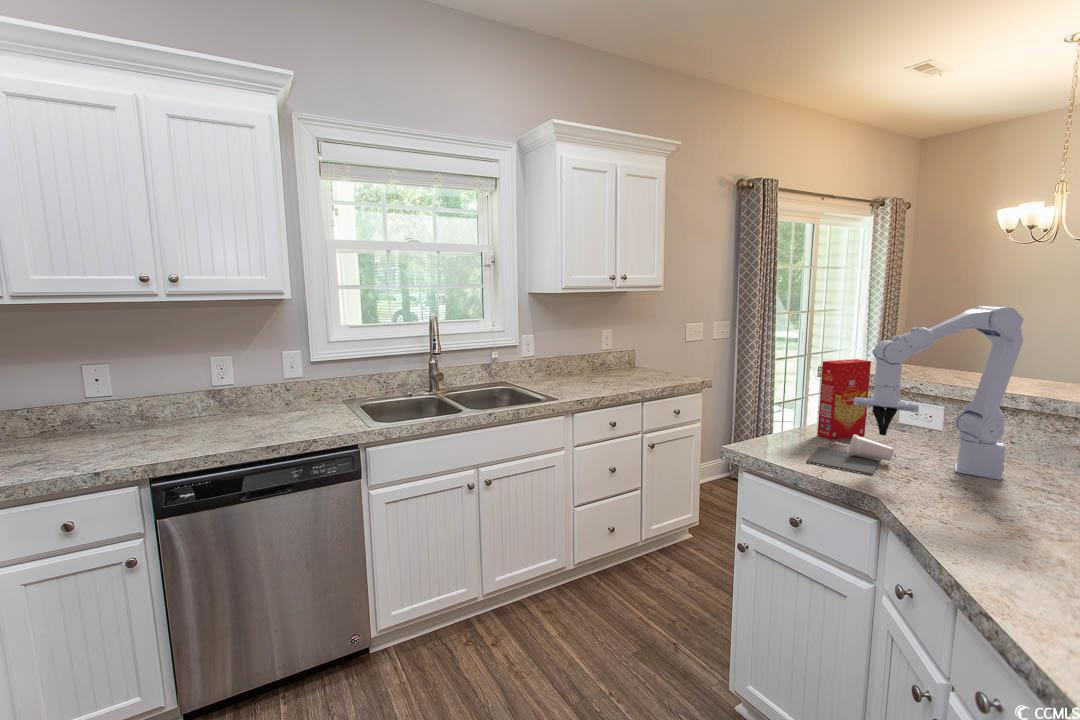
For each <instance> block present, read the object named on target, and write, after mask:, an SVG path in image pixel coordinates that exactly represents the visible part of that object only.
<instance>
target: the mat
mask: <svg viewBox="0 0 1080 720" xmlns="http://www.w3.org/2000/svg"><path fill="white" fill-rule="evenodd" d="M881 460H882V459H875V458H868V457H861V456H850V455H849V451H844V450H838V449H832V448H829V447H822V446H821V447H820V446H818V448H816V450H814V452H813V453H812V454H811V455H810V456H809V457H808V458H807V459H806V461H805V463H806V462H810V463H814V464H813V465H816V464H819V465H818V466H821V465H824V466H823V467H826V466H830V467H829V468H831V467H835V468H834V469H836V468H840V469H839V470H841V469H845V470H844V471H846V470H850V471H849V472H852V471H855V472H854V473H857V472H860V473H859V474H862V473H865V474H864V475H867V474H869V475H868V476H872V475H874V474H875V471H876V470H877V468H878V466H879V464H880V462H881ZM810 463H809V464H810Z"/></svg>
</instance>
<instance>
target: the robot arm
mask: <svg viewBox="0 0 1080 720" xmlns="http://www.w3.org/2000/svg"><path fill="white" fill-rule="evenodd" d="M1024 319H1025V318H1024V317H1023V316H1022V315H1021V314H1020V313H1019V311H1017V310H1016V309H1015V308H1013V307H1010V306H1002V307H1001V306H988V305H979V306H975V307H974V308H970V309H967V310H965V311H964V312H961V313H959V314H958V315H956V316H955V315H954V316H953V317H951V318H949V319H947V320H945V321H942V322H940V323H938V324H935V325H934V326H932V327H929V328H927V327H923V326H920V327H918V326H913V327H911V328H910V330H909V331H908V332H906V333H903V334H901V335H894V336H892V339H891V340H888V339H885V340H881V341H879V342H878V343H877V344H876V345H875V346H874V349H872V355H873V357H874V358H875V359H876V363H875V377H874V387H873V398H872V397H871V398H869V397H868V398H858V397H855V398H854V405H857V406H858V405H861V406H867V407H871V408H872V409H871V410H872V414H873V416H874V418H875V420H876V422H877V423H876V424H877V426H878V427H877V428H878V433H879V436H886V435H887V433H888V432H887V431H888V428H889V426H890V424H891V422H892V420H893V419H894V418H895V417H894V416H895V415H896V414H897V412H898V411H905V412H912V413H917V414H919V411H920V410H919V409H920V404H918V403H911V402H904V401H900V392H901V379H902V367H903V363H904V362H905V361H906V360H907V359H908V357H910V356H912V355H915V354H917V353H919V352H922V351H925V350H927V349H930V348H932V347H934V345H935V344H936V341H937V340H940V339H942V338H945V337H948V336H952V335H954V334H956V333H960V332H962V331H965V330H968V329H975V330H976V331H978V332H980V333H982V334H983V335H985V337H986V338H987V339H988V340H989V342H991V344H992V345H991V349H990V352H989V354H988V356H987V357H988V358H987V359H986V364H985V366H984V369H983V371H982V375H981V377H980V380H979V382H978V383H979V384H978V386H977V389H976V391H975V395H974V398H973V400H972V401H971V402H969V403H967V404H966V405H964V407H963V410H962V412H961V413H960V414H959V415H957V417H956V418H955V427H956V429H957V430H958V431H959V444H958V452H957V460H956V462H955V463H954V473H957V474H958V473H959V474H964V475H969V476H977V477H982V478H988V479H992V480H998V481H1001V480H1002V479H1003V478H1002V477H1003V472H1004V471H1005V464H1004V463H1005V462H1004V461H1005V456H1006V455H1005V454H1006V444H1005V443H1002V442H998V441H1000V439H1002V437H1003V436H1004V434H1005V425H1004V422H1005V419H1006V417H1005V415H1004V413H1003V411H1002V410H1001V408H1000V407H1001V404H1002V402H1003V399H1004V396H1005V394H1006V391H1007V388H1008V385H1009V383H1010V379H1011V376H1012V374H1013V371H1014V367H1015V365H1016V363H1017V360H1018V357H1019V355H1020V352H1021V349H1022V346H1023V343H1024V338H1023V337H1024V336H1023V332H1022V325H1023V322H1024Z"/></svg>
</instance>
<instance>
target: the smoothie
mask: <svg viewBox="0 0 1080 720" xmlns="http://www.w3.org/2000/svg"><path fill="white" fill-rule="evenodd" d="M834 444H835V445H839V446H844V447H847V448H849V449H848V452H849V455H850V456H861V457H868V458H875V459H881V460H882V461H888V462H889V461H891V460H892V457H893V453H894V447H892V446H889V445H885V444H883V443H881V442H877V441H874V440H871V439H868V438H865V437H864V436H859V435H855V434H854V435H853V437H851V440H850V443H849V444H847V443H843V442H839V441H834Z"/></svg>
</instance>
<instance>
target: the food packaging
mask: <svg viewBox="0 0 1080 720" xmlns="http://www.w3.org/2000/svg"><path fill="white" fill-rule="evenodd" d="M871 364H872V361H870V360H867V359H865V360H864V359H860V358H855V359H853V358H852V359H838V360H823V361H822V366H821V380H820V381H821V382H820V390H819V391H820V393H819V406H818V407H819V408H818V418H817V419H818V422H817V433H816V434H817V437H821V438H824V439H827V440H829V441H833V440H840V439H841V440H842V439H847V438H852V437H853V435H854V434H855V435H859V436H860V437H864V436H865V435H866V434H865V432H866V421H867V412H868V411H867V410H868V406H861V405H858V406H857V405H854V398H855V397H858V398H869V390H870V389H869V388H870V377H871V366H872V365H871Z"/></svg>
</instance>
